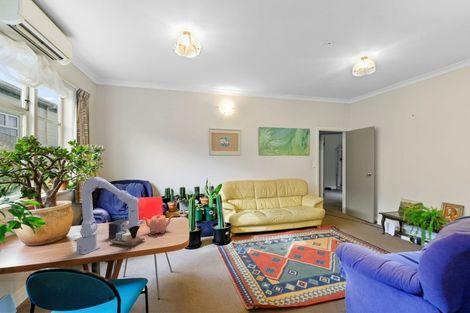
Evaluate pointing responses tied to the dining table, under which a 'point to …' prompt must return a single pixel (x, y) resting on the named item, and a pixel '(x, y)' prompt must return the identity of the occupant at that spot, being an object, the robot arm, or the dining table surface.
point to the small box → (116, 228)
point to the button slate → (120, 235)
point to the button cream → (126, 236)
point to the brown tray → (126, 243)
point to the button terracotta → (133, 239)
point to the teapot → (158, 224)
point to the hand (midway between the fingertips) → (133, 237)
